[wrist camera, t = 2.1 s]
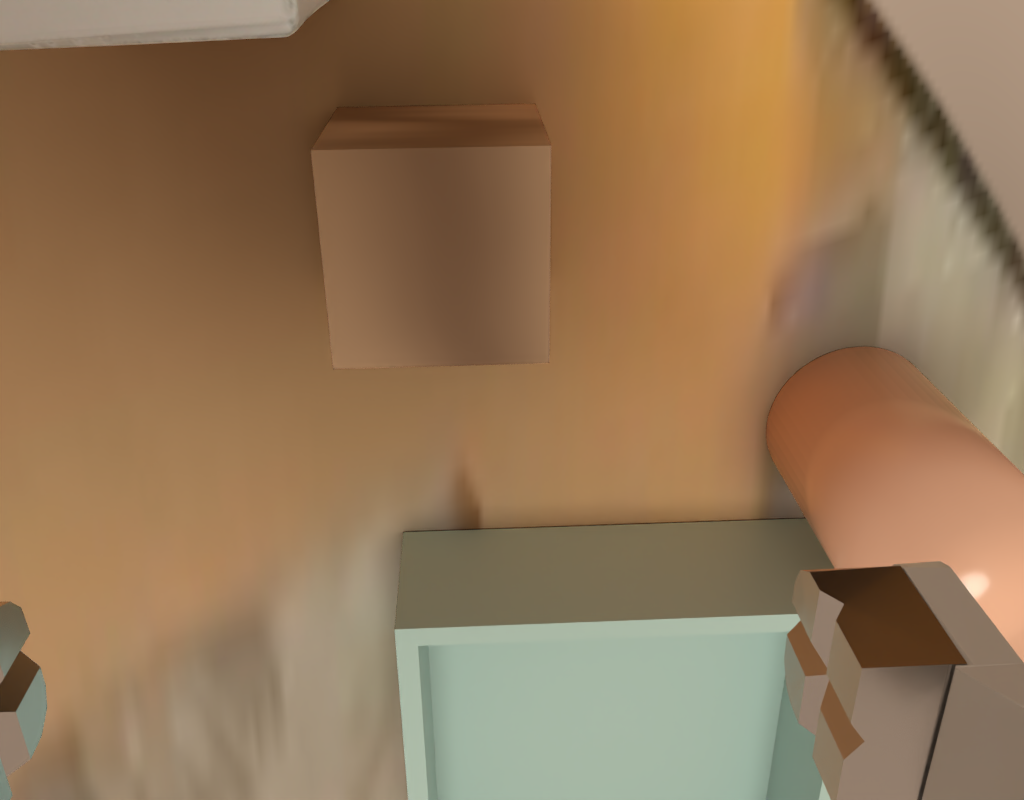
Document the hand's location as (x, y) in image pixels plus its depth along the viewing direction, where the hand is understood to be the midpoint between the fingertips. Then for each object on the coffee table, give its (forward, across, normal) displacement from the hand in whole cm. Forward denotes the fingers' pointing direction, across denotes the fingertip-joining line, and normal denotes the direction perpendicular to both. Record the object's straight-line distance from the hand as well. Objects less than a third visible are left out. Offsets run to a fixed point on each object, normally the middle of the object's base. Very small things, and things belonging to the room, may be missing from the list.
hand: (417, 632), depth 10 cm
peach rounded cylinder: (+17, -12, +7) cm, 22 cm away
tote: (+17, -5, +19) cm, 26 cm away
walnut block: (+17, 0, 0) cm, 17 cm away
